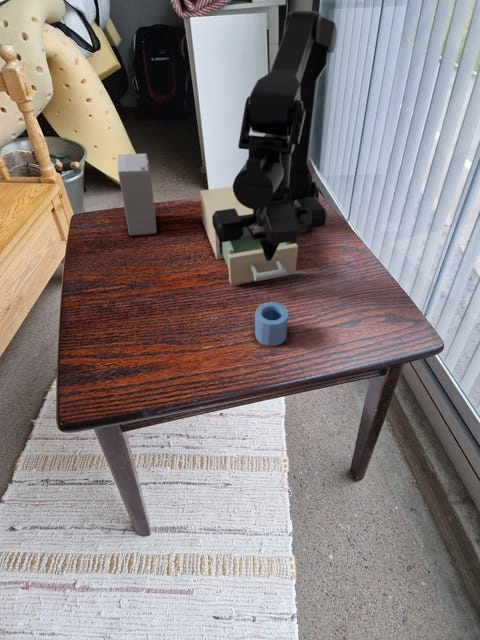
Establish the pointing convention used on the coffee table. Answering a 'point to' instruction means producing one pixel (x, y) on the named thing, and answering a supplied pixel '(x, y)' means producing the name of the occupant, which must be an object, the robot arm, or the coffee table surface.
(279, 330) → the jar
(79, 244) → the coffee table surface
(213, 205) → the cabinet
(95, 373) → the coffee table surface
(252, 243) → the drawer
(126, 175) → the cosmetic box
